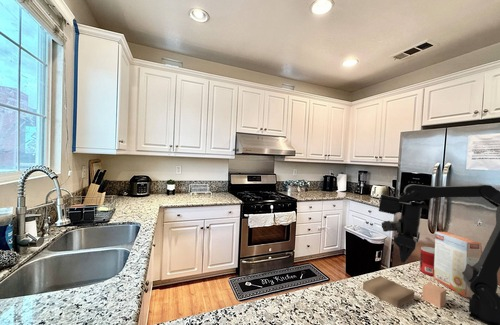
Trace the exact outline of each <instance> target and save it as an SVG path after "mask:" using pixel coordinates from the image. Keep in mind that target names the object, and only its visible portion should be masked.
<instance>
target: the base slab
mask: <svg viewBox="0 0 500 325" xmlns="http://www.w3.org/2000/svg"><path fill="white" fill-rule="evenodd" d="M362 290H364V291H366V292H368V293H370V294H371V295H373V296H375V297H377V298H378V299H380V300H382V301H384V302H385V303H388V304H389V305H391V306H392V307H395V308H396V307H397V309H398V308H399V307H402V306H403V304H404V305H405V304H407V303H409V302H411V301H413V300H414V299H415V291H414V290H412V289H409V288H407V287H405V286H403V285H401V284H399V283H397V282H395V281H393V280H390V279H388V278H386V277H384V276H383V275H382V276H381V275H380V276H377V277H374V278H373V277H372V278H371V279H369V280H366V281H363V283H362Z"/></svg>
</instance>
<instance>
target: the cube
mask: <svg viewBox="0 0 500 325" xmlns="http://www.w3.org/2000/svg"><path fill="white" fill-rule="evenodd" d="M421 298H422V300H423V301H426V302H427V303H430V304H432V305H434V306H436V307H438V308H441V307H443V306H445V305H446V303H447V289H446V288H444V287H441V286H439V285H437V284H433V283H431V282H427V283H425V284H424V285H422V297H421Z"/></svg>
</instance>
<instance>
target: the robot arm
mask: <svg viewBox="0 0 500 325" xmlns="http://www.w3.org/2000/svg"><path fill="white" fill-rule="evenodd" d="M435 198H483V199H484V200H485V201H487V202H488V203H489V204H491V205H492V206H494V207H496V212H495V226H494V228H493V230H492V232H491V235H490V236H489V238H488V240H487V242H486V245H485V246H484V248H483V251H481V257H480V259H479V261H478V262H477V263H476V264H475V265H473V266H471V265H469V264H467V265H466V268H465V270H464V272H462V274H463V275H464V276H463V279H464V281H465V283H466V284H467V286H468V287H469V288H470V289H471V291H472V292H473V293H474V294H473V295H472V298H469V300H468V302H469V303H468V312H470V313H468V316H469V317H470V318H473V319H475V320H477V321H480V322H482V323H484V324H486V325H500V295H499V294H498V293H497V291H498V287H499V281H498V280H499V279H498V278H499V276H498V272H499V270H500V190H499V189H497V188H495V187H494V186H492V185H489V184H478V185H454V186H453V185H447V186H444V185H443V186H433V185H423V184H414V183H413V184H412V183H410V184H408V185H406V186H405V187H404V189H403V192H402V193H401V194H400V195H398V196H397V197H396V196H390V195H387V194H381V196H380V201H379V205H378V212H380V213H386V214H391V215H396V214H398V213H400V218H399V219H398V221H397V220H392V221H390V220H387V221H386V220H384V221H383V222H381V228H382V231H383V232H394V231H395V232H396V234H395V235H394V236H393V243H394V244H395V245H396V246H397V247H398V251H399V257H400V262H401V263H406V261H407V260H408V259H409V258H410V256H411V255H412V254H413V253H414V251H415V250H416V247H417V243H418V242H419V241H420V236H421V232H420V231H419V228H420V225H421V217H422V216H421V214H422V209H426V210H429V209H430V206H428V205H427V204H426V202H425V201H426V200H430V199H435ZM424 200H425V201H424ZM419 201H420V202H419ZM401 206H402V207H401ZM400 211H401V212H400Z"/></svg>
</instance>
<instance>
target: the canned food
mask: <svg viewBox="0 0 500 325" xmlns="http://www.w3.org/2000/svg"><path fill="white" fill-rule="evenodd" d="M419 254H420V257H419V258H420V260H419V270H420V272H421V273H423V274H424V275H426V276H429V277H433V278H434V258H435V247H430V246H421V247H420V253H419Z"/></svg>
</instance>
